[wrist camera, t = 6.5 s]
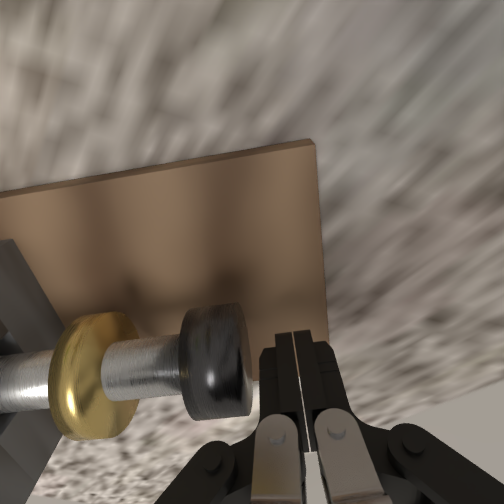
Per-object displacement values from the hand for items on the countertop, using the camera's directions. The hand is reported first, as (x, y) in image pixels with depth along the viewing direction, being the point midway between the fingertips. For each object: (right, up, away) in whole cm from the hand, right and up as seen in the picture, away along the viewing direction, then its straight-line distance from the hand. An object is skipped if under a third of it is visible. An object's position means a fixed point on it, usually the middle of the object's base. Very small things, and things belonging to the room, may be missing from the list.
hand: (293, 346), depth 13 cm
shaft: (-12, -1, +3) cm, 12 cm away
